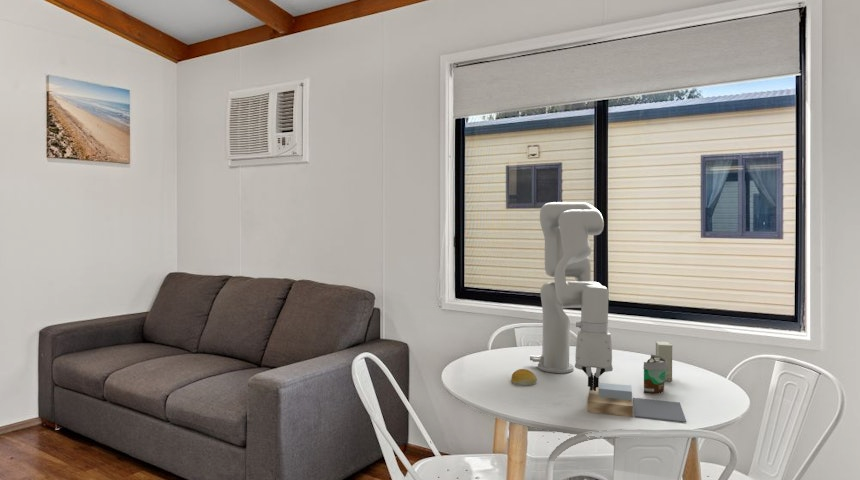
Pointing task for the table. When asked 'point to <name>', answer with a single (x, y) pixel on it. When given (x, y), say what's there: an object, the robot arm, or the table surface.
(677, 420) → the mat
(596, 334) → the robot arm
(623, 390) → the tile
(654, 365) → the food container
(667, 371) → the skincare box
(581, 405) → the table surface
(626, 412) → the wooden block
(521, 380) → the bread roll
